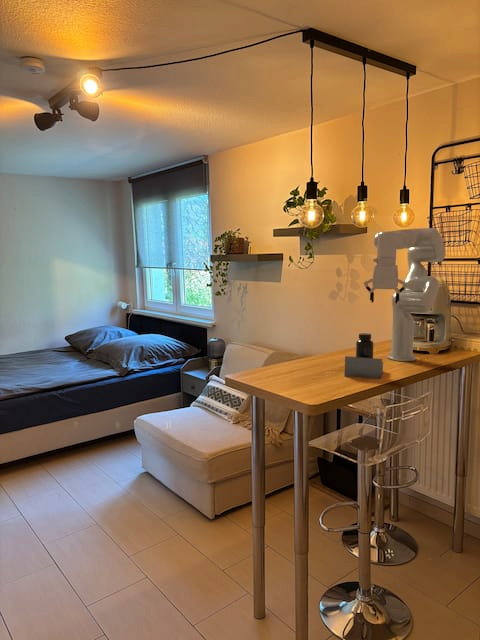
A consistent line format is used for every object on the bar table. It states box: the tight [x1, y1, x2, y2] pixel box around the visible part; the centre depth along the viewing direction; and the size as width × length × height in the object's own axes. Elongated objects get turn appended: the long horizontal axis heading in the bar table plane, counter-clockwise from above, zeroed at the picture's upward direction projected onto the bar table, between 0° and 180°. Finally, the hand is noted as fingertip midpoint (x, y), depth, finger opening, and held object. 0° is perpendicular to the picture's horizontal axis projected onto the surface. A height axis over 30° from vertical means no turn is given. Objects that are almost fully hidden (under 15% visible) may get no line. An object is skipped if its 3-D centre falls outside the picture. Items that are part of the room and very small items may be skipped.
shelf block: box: [344, 355, 384, 380], centre depth 189 cm, size 14×14×8 cm
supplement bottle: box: [355, 332, 374, 358], centre depth 189 cm, size 7×7×12 cm
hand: (384, 302), depth 195 cm, fingers open, 9 cm apart
